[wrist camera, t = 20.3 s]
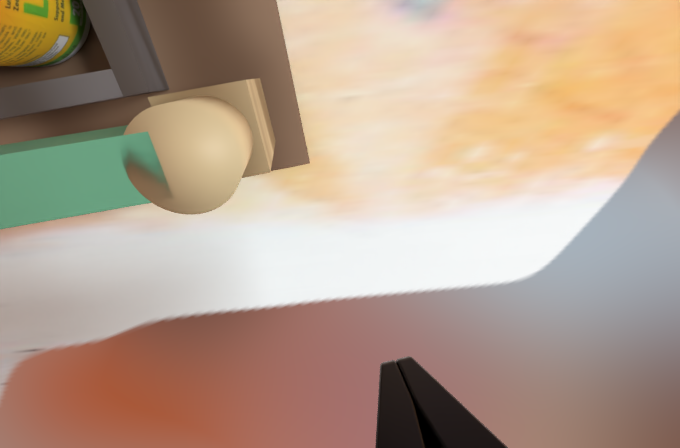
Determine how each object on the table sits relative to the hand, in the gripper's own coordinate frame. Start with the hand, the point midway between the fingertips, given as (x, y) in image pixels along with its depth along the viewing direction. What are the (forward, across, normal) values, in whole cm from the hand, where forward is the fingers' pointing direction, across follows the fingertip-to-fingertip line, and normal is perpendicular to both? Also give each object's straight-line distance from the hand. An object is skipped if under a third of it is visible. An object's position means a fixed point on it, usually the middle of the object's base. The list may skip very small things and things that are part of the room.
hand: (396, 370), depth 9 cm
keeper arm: (+5, +9, -6) cm, 12 cm away
